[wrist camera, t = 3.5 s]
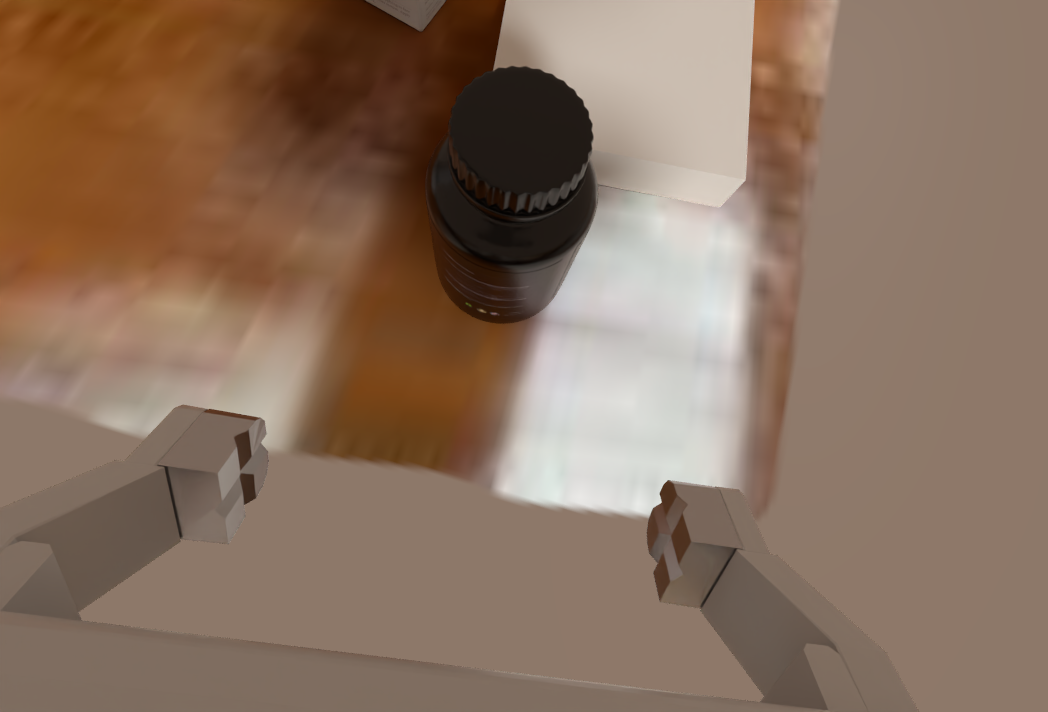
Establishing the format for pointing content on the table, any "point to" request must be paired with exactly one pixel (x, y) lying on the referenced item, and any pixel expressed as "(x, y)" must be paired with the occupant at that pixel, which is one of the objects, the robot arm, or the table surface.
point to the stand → (648, 86)
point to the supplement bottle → (511, 193)
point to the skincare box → (410, 10)
